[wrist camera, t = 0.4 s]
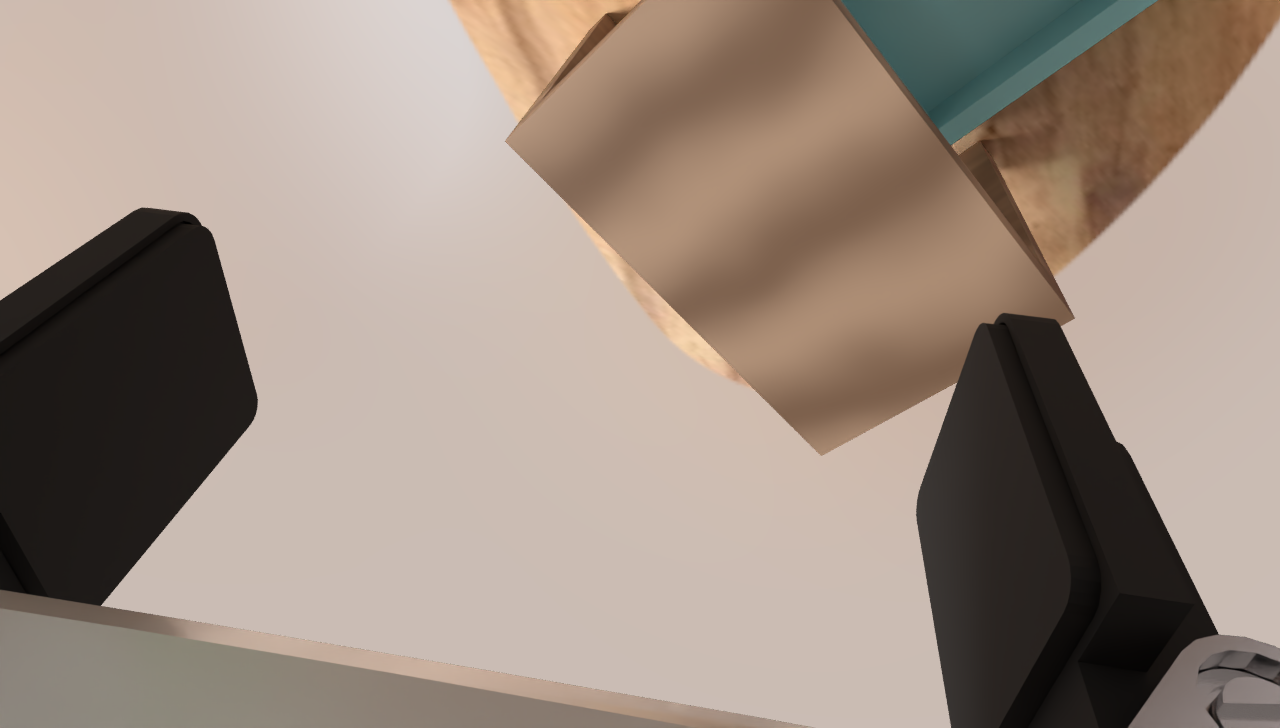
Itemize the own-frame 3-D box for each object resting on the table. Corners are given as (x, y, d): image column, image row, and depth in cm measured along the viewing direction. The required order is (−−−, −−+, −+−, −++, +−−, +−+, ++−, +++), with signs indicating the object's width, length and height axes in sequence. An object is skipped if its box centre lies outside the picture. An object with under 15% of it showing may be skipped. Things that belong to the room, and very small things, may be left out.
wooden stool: (589, 30, 41) (504, 141, 29) (765, -149, 35) (751, -105, 23) (813, 279, 47) (821, 455, 35) (992, 158, 42) (1075, 318, 30)
